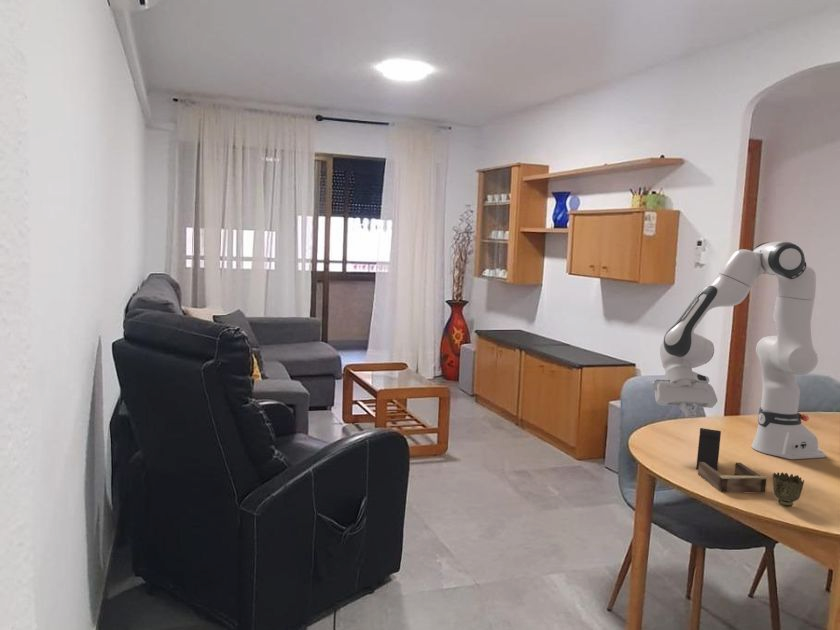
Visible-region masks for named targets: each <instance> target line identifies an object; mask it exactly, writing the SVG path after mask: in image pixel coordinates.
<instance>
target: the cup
mask: <svg viewBox="0 0 840 630" xmlns="http://www.w3.org/2000/svg"><path fill="white" fill-rule="evenodd" d="M804 484H805V479H803V480H802V477H800V476H799V475H798V474H797V475H793V473H791V474H790V476H789V474H788V473H787V472H785V473H784V472H781V473H780V472H777V473H775V472H773V473H772V487H773V488H772V489H773V493H774V496H775V497H776V498H778V499H777V502H778V505H779V506H782V507H785V508H792V507H793V505H794V502H796V501H798V500H799V499H800V497H801V495H802V491H803V487H804Z"/></svg>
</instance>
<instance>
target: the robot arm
mask: <svg viewBox="0 0 840 630" xmlns="http://www.w3.org/2000/svg"><path fill="white" fill-rule="evenodd" d="M762 274H766V275H770V276H776V278H777V282H778V287H777V288H778V289H777V293H776V299H775V304H774V309H773V315H772V316H773V317H772V319H773V320H772V321H774V322H773V323H774V324H775V329H776V335H767V336H763V337H762V338H761V339H759V341H758V342H757V344H756V346H755V354H756V356H757V358H758V361H759V364H760V371H761V377H762V393H761V394H762V395H761V403H760V404H761V405H760V407H759V410H758V415H757V418H758V419H757V421H758V425H757V430H756V433H755V436H754V438H753V442H752V444H751V448H752V449H753V450H755V451H757V452H760V453H762V454H766V455H771V456H776V457H779V458H783V459H787V460H802V459H818V458H825V457H826V453H825V452H824V451H823V450H821V448H819V441H818V440H819V439H818V438H817V436H816V435H815V434H814V433H813V432H812V431H811V430H809V429H808V428H807V427H806V426H805V425H804V424H803V423H802V421H804V422H808V421H809V419H810V418H809V416H808V415H807V414H804V413H802V414H801V413H800V412H799V403H800V394H801V390H800V387H799V385H798V383H797V380H796V375H797V376H798V375H799V376H801V375H808V374H810V373H812V372H813V371H814V370H815V368H816V366H817V364H818V361H819V360H818V359H819V358H818V354H817V353H816V350H815V348H814V346H813V340H812V329H811V328H812V325H811V324H812V323H811V321H812V315H813V310H814V309H813V308H814V305H815V298H816V290H817V289H816V288H817V287H816V286H817V277H816V276H817V275H816V272H815V270H814V269H813V268H812V267H811V266H808V265H807V262H806V258H805V254H804V252H803V249H802V248H801V247H800V246H798V245H797V244H795V243H793V242H789V241H787V242H786V241H785V242H784V241H772V242H769V241H768V242H763V243H761V244H758V245H757V246H756V247H754V248H752V249H751V250H749V249H743V248H741V249H738V250H736V251H734V252H733V253H732V255H730V257H729V258H728V259H727V261H725V263H724V265H723V266H722V268H721V269H720V271H719V273H718V275H717V276H716V277H715V279H714V280H713V281H712V282H711V283H710V284H709V285H708V286H705V287H704V288H702V289H701V290H700V291H699V292H698V293H697V295H696V296H695V297H694V298H693V300H692V301H690V303H689V305H688V306H687V308H685V310H684V312H683V313H682V314H681V316H680V317H679V318H678V320H677V321H676V322H675V323H674V324H673V325H672V326H671V327H670V328H669V329H668V330H667V331H666V333H665V334H664V337H663V342H661V344H660V346H659V354H660V355H659V356H660V360H661V364H662V367H663V369H664V374H665V375H664V376H665V379H655V380H654V381H653V382H652V388H653V390H654V398H655V402H656V404H657V405H659V406H668V407H669V406H671V407H679V409H680V410H681V412H683V413H684V416H685V418H696V417H697V413H696V411H697V408H707V409H708V408H710V409H711V408H713V407H715V406H716V405H717V403H718V397H717V394H716V392H715V389H714V387H713V386H712V384H710V378H709V377H708V376H706V375H703V374H701V373H697V372H695V371H693V369H694V368H698V367H701V366H703V365H705V364H707V363H709V362H710V361H711V360H712V359H713V356H714V354H715V346H714V343H713V342H712V341H711V340H709V339H708V338H706V337H704V336H702V335H700V334H697V333H696V332H695V329H696V328H697V327H698V325H699V324H700V322H701V321H702V320H703V319H704V317H705V316H706V314H708V312H709V311H710V310H712V309H714V308H718V307H719V308H721V307H723V308H724V307H727V308H728V307H729V308H730V307H734V306H736V305H739V304H741V303H742V302H744V300H745V299H746V297H747V296H748V294H749V293H750V291H751V289H752V287H753V285H754V283H755V282H756V280H757V279H758V278H759V277H760V275H762ZM688 408H689V409H690V410H689V409H688Z"/></svg>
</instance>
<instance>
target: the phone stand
mask: <svg viewBox="0 0 840 630" xmlns="http://www.w3.org/2000/svg"><path fill="white" fill-rule="evenodd" d="M721 435H722V431H721V430H714V429H710V428H702V427H700V429H699V437H698V447H697V455H696V467H695V468H696V470H698V468H699V462H705V463H706V464H707V465H709V466H710V467H712V468H713V469H715V470H716V471H717V472H718V468H719V467H718V466H719V455H720V446H721V444H720V443H721V437H722V436H721Z"/></svg>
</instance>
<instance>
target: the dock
mask: <svg viewBox="0 0 840 630" xmlns="http://www.w3.org/2000/svg"><path fill="white" fill-rule="evenodd" d="M697 470H698V471H697V476H699V477H700V476H701V477H700V478H701V479H702V480H704V479H705V480H704V481H706V482H707V483H708V482H709V484H710V485H711V486H712V487H713V488H715V489H716V490H717V491H719V492H720V493H744V492H756V493H758V494H759V493H766V490H767V489H766V487H767V478H768V477H766V476H764V475H762V474H761V475H760V474H759V473H758V472H757V471H755V470H753V469H751V468H750V467H748V466H746V465H745V464H743V463H742V462H735V464H734V473H733V475H731V474H730V475H728V474H727V475H726V474H725V475H723V474H721V473H720V472H719V471H718V470H717V471H716V470H715V469H713V468H712V467H710V466H709V465H707V464H706V463H705V462H699V468H698V469H697ZM756 493H755V494H756Z"/></svg>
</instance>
